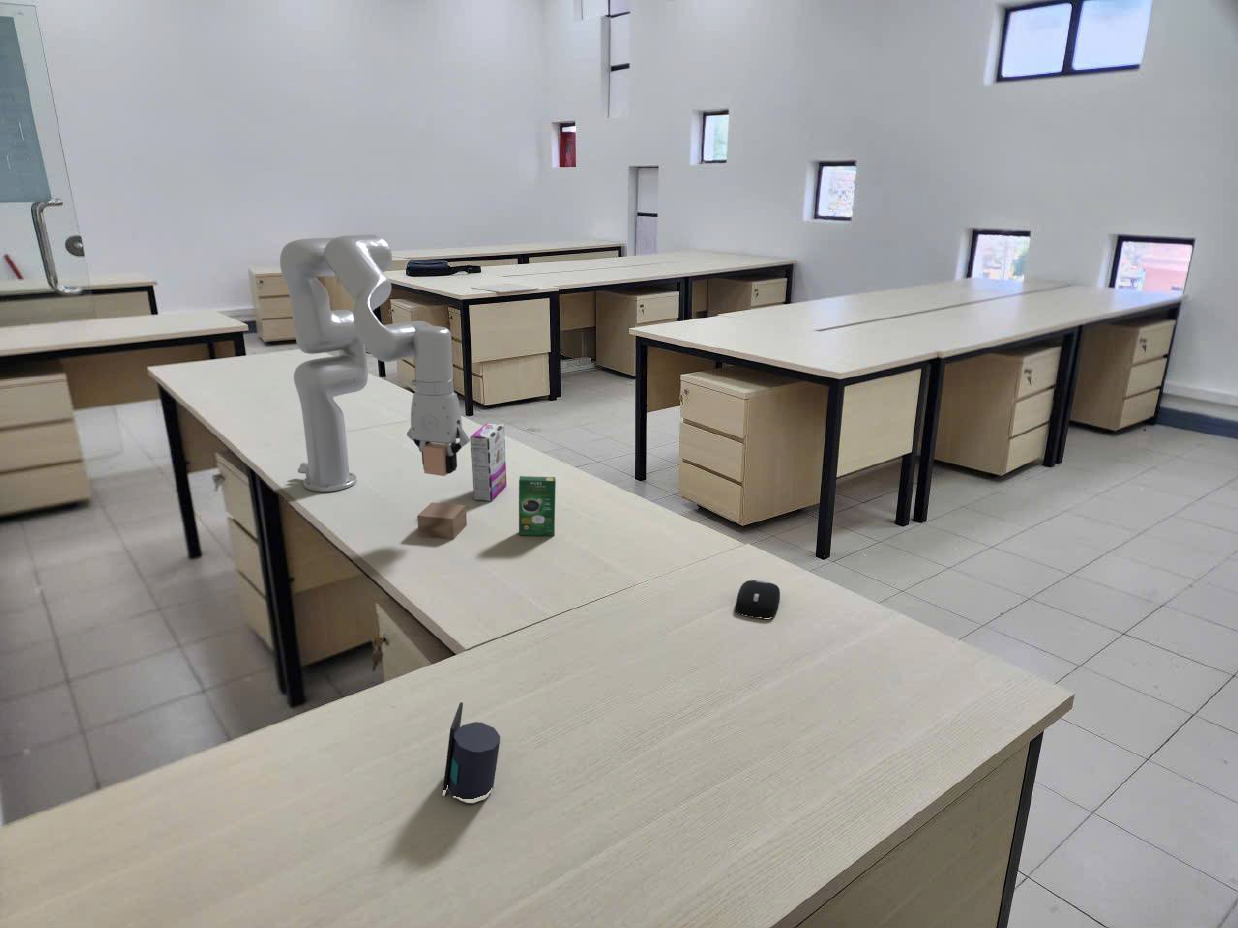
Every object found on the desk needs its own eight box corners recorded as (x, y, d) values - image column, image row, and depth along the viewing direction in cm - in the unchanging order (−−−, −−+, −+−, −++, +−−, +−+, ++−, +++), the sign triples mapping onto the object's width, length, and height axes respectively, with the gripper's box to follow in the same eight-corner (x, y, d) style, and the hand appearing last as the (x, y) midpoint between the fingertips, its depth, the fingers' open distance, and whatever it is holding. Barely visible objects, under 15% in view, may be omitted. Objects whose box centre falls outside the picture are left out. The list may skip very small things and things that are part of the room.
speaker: (426, 793, 103) (431, 724, 100) (452, 766, 108) (458, 700, 105) (478, 816, 100) (485, 746, 97) (502, 788, 106) (509, 720, 102)
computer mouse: (783, 593, 156) (785, 574, 155) (773, 623, 145) (775, 603, 144) (744, 586, 158) (746, 568, 157) (731, 615, 148) (733, 595, 146)
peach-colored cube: (424, 473, 174) (422, 446, 172) (436, 466, 178) (434, 440, 176) (444, 476, 172) (442, 449, 171) (455, 469, 177) (454, 442, 175)
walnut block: (418, 537, 177) (417, 515, 175) (433, 522, 184) (431, 502, 183) (453, 540, 176) (452, 519, 174) (466, 526, 183) (465, 505, 181)
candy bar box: (488, 484, 207) (486, 422, 202) (507, 486, 206) (505, 424, 201) (472, 500, 197) (469, 435, 192) (491, 502, 196) (489, 437, 191)
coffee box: (556, 531, 181) (556, 475, 177) (555, 536, 178) (555, 480, 174) (519, 531, 181) (518, 475, 176) (518, 536, 178) (517, 479, 173)
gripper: (389, 387, 169) (395, 470, 174) (462, 395, 163) (466, 480, 169) (409, 379, 175) (415, 460, 181) (480, 386, 170) (483, 469, 176)
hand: (440, 469), depth 175 cm, fingers closed on peach-colored cube, 4 cm apart
